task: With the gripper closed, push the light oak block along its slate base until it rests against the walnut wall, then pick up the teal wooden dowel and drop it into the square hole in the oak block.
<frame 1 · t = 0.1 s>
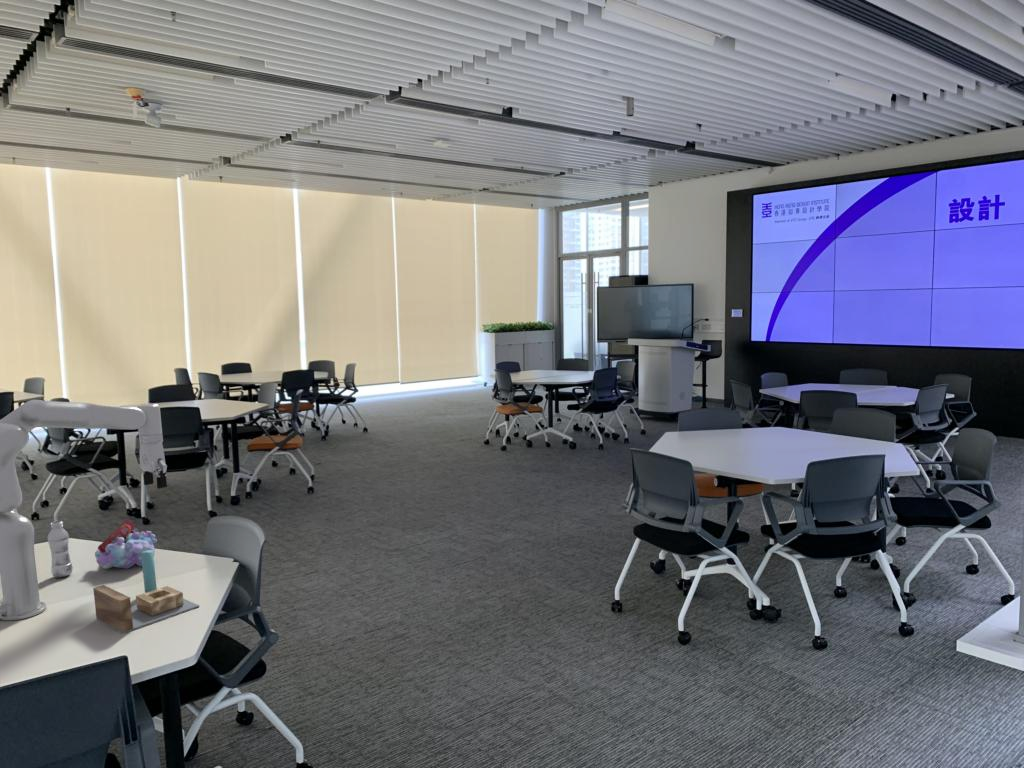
hand: (155, 486, 272), 31 cm above the table, fingers open, 9 cm apart
cotton candy cloud: (126, 565, 283), on the table
dowel: (151, 592, 254), on the table
walnut wall: (114, 624, 228), resting on slate base
oak block: (159, 600, 239), point 3 cm above the table, slide at 7.0 cm
plastic bottle: (62, 576, 273), on the table
slate base: (148, 613, 236), on the table
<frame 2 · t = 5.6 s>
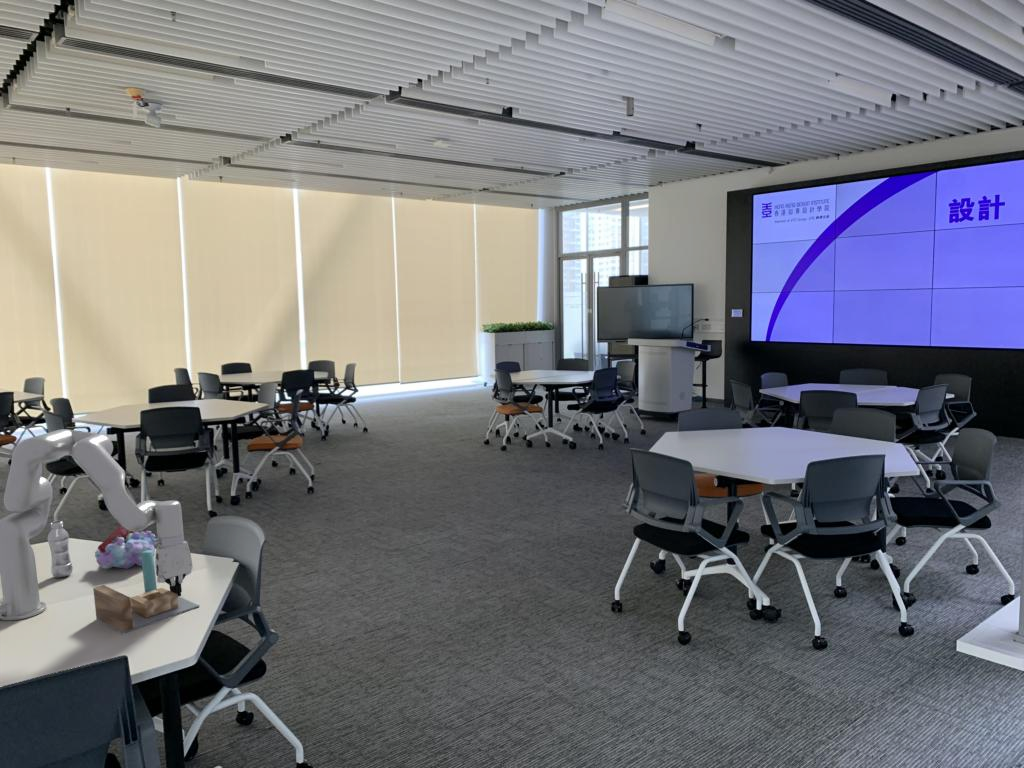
hand: (176, 595, 243), 3 cm above the table, fingers closed
oak block: (154, 602, 238), point 3 cm above the table, slide at 5.3 cm, touching gripper
everything else where it was.
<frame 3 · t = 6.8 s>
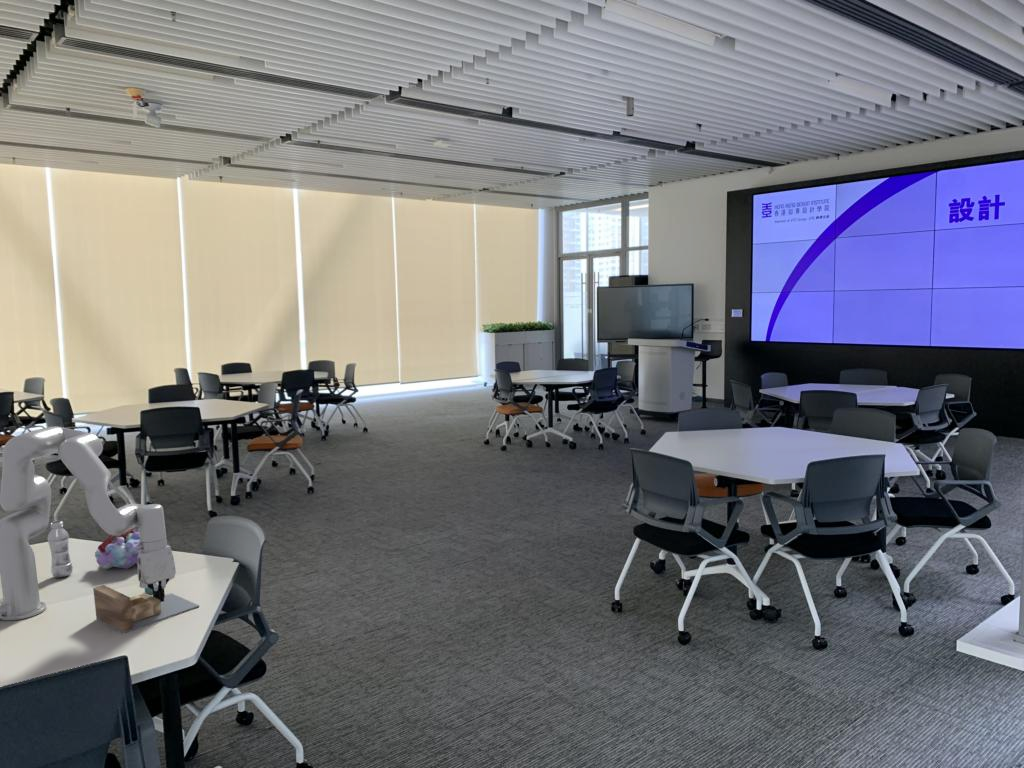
hand: (159, 601, 239), 3 cm above the table, fingers closed
oak block: (136, 608, 233), point 3 cm above the table, slide at -0.1 cm, touching gripper
everything else where it was.
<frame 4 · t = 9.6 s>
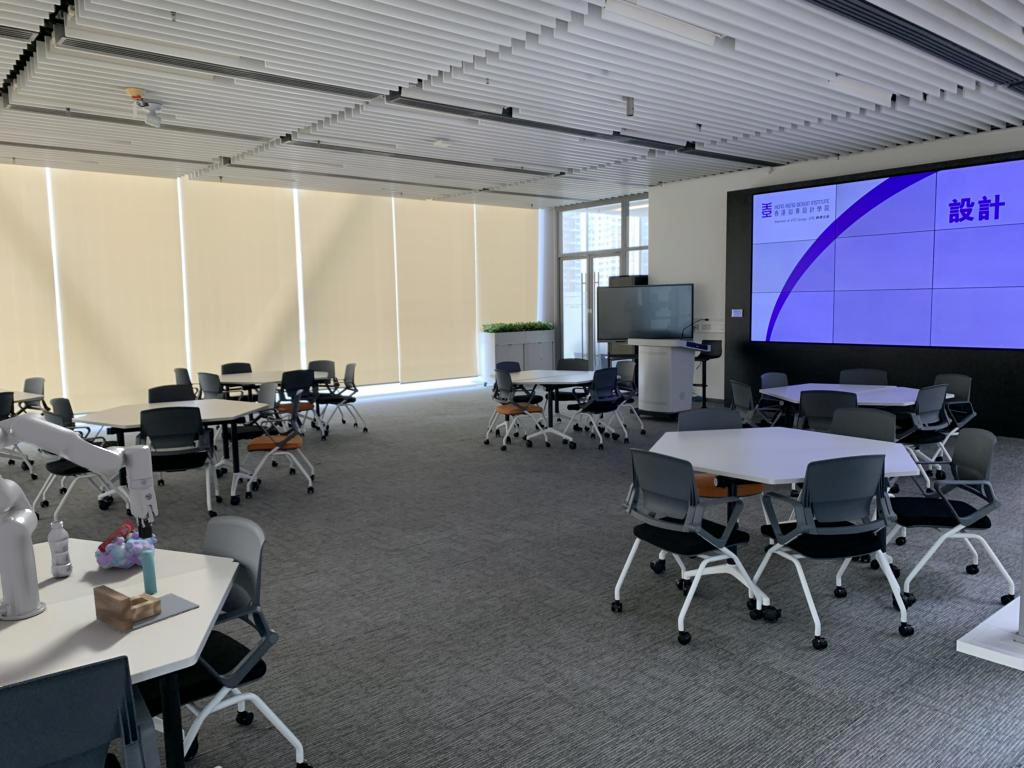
hand: (145, 537, 252), 19 cm above the table, fingers closed
oak block: (137, 607, 233), point 3 cm above the table, slide at 0.0 cm
everything else where it was.
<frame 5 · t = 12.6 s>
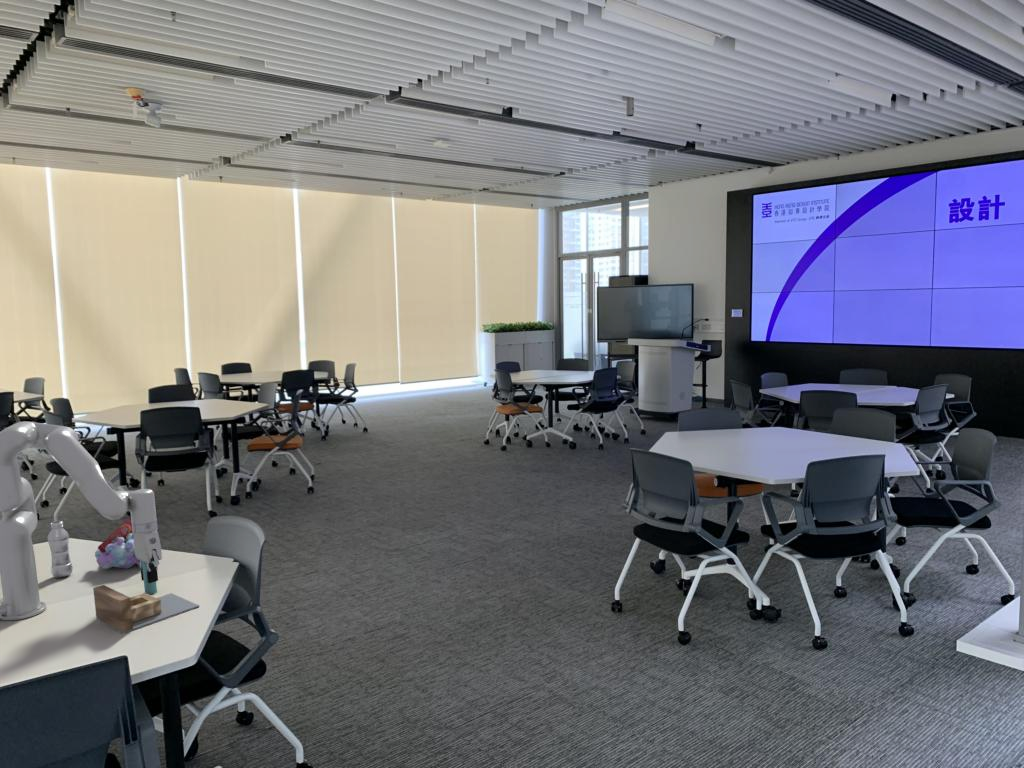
hand: (149, 580, 253), 4 cm above the table, fingers closed on dowel, 3 cm apart
dowel: (151, 592, 254), on the table, touching gripper
everything else where it was.
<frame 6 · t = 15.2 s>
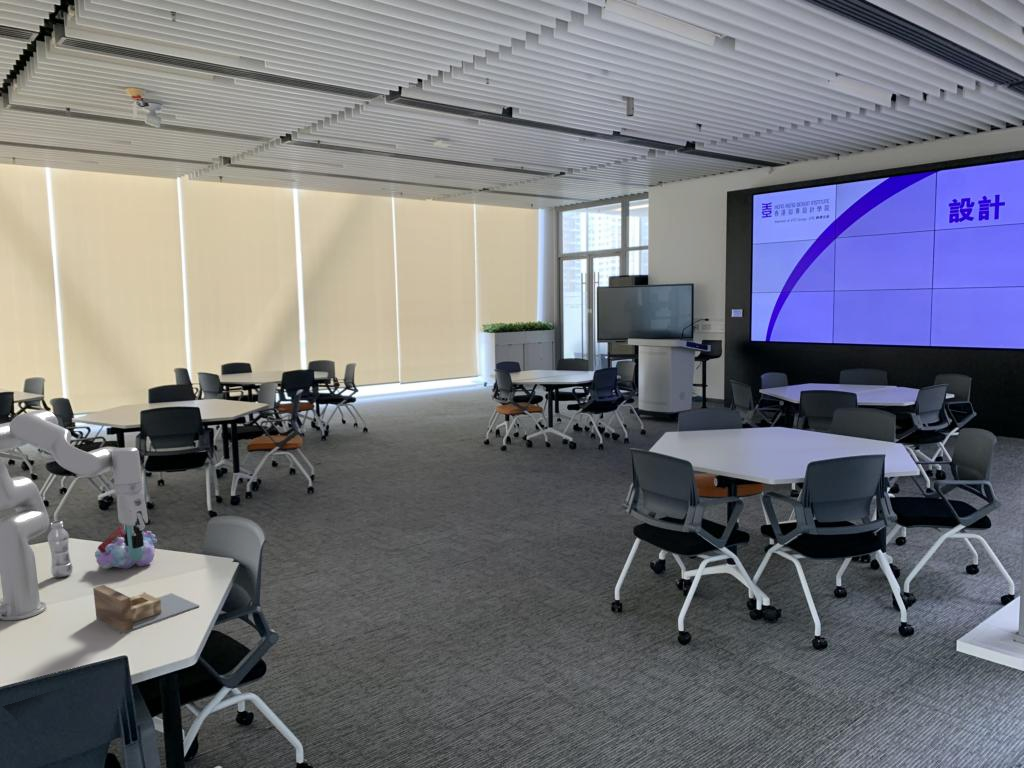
hand: (134, 545, 235), 21 cm above the table, fingers closed on dowel, 3 cm apart
dowel: (136, 558, 235), point 17 cm above the table, touching gripper
everything else where it was.
when the fingers open (6 cm above the table, at t = 17.9 s): dowel drops 1 cm, resting on slate base.
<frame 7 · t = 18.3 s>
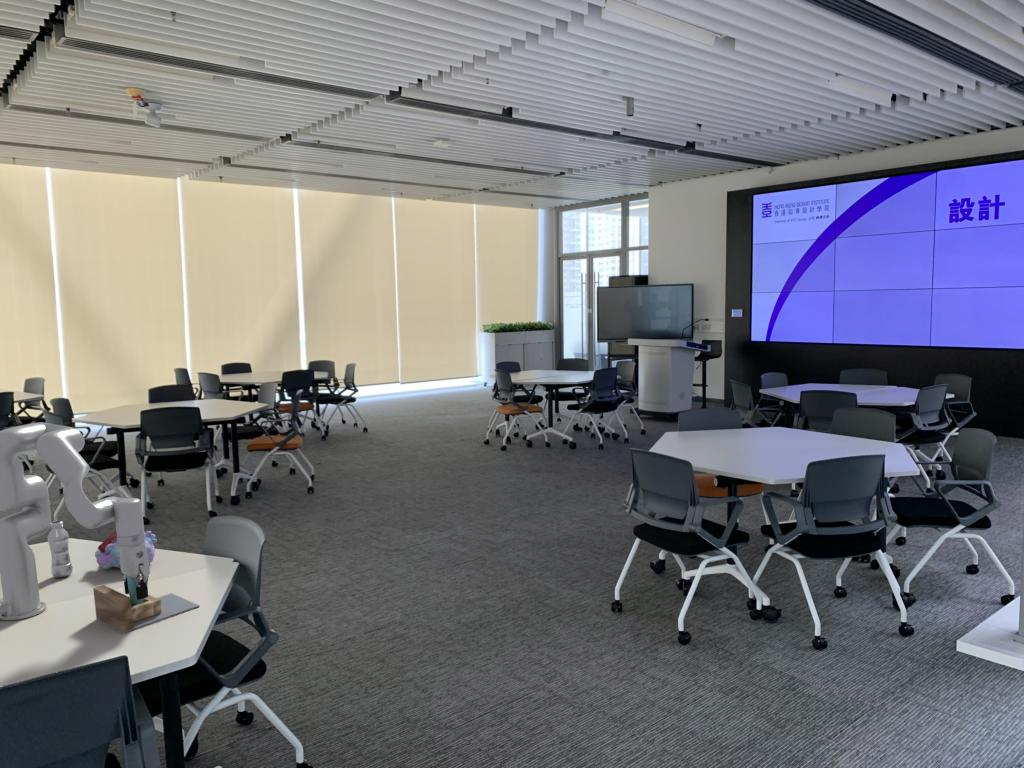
hand: (136, 595, 233), 7 cm above the table, fingers open, 7 cm apart
dowel: (138, 614, 234), point 1 cm above the table, touching slate base
everything else where it was.
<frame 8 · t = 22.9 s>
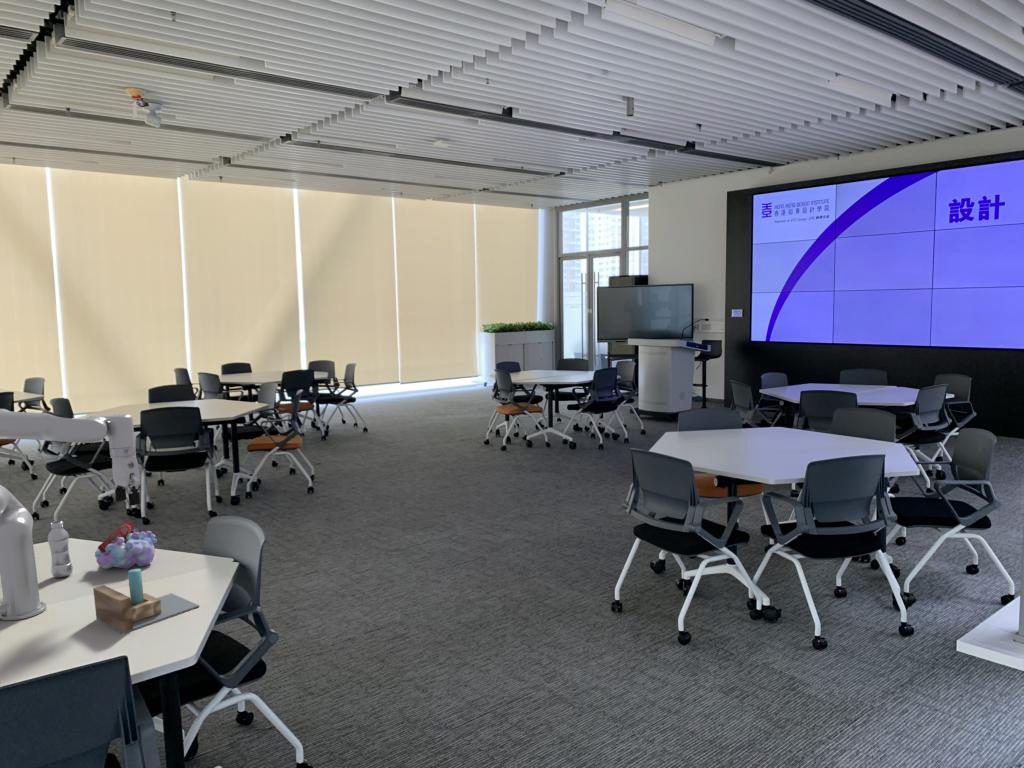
hand: (128, 502, 253), 30 cm above the table, fingers open, 9 cm apart
nothing on the table moved.
at the end: oak block slide at 0.0 cm; dowel 0.1 cm from the target spot, point 0.5 cm above the table; dowel tilted 0° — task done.
